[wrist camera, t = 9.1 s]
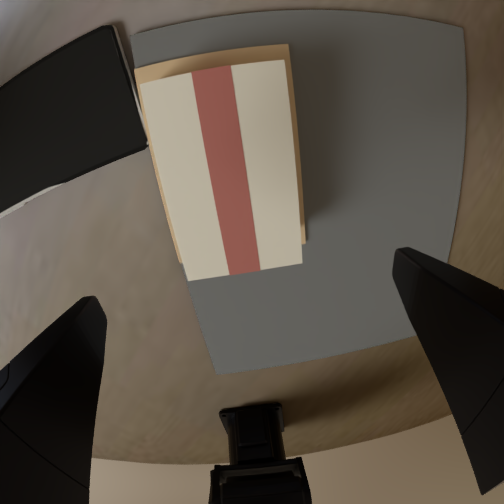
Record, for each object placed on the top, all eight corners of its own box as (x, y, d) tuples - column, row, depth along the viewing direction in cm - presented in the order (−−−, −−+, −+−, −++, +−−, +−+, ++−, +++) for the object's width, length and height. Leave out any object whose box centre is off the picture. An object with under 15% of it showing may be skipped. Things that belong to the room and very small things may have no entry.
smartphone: (154, 148, 17) (-19, 229, 17) (158, 143, 18) (-11, 222, 18) (111, 19, 12) (-59, 135, 13) (117, 21, 13) (-49, 131, 14)
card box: (155, 81, 14) (139, 83, 11) (271, 61, 15) (284, 59, 12) (192, 247, 20) (188, 281, 17) (290, 231, 20) (302, 263, 17)
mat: (425, 328, 27) (429, 334, 27) (216, 370, 27) (216, 377, 27) (458, 28, 14) (465, 27, 13) (132, 36, 14) (128, 35, 13)
